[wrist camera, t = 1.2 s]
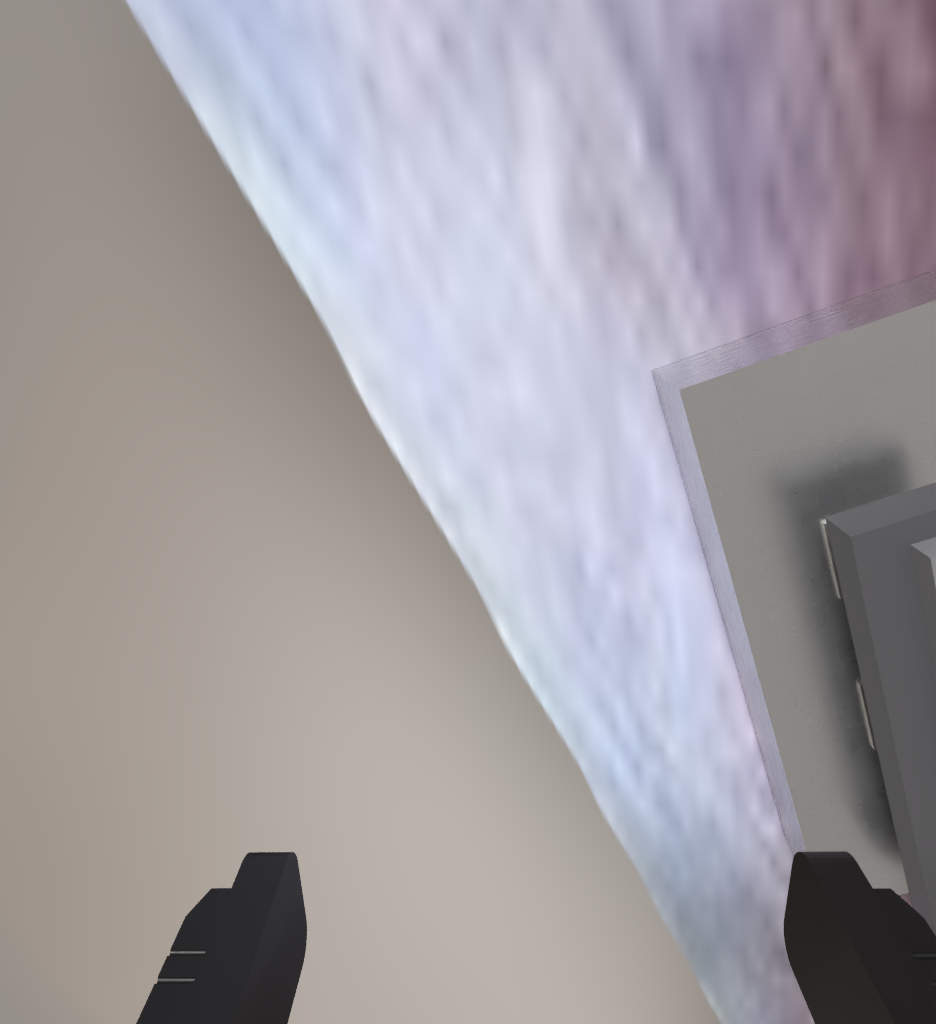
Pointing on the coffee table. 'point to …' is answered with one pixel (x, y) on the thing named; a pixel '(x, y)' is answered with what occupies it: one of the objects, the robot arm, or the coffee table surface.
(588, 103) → the coffee table surface
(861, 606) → the bar
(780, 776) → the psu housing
